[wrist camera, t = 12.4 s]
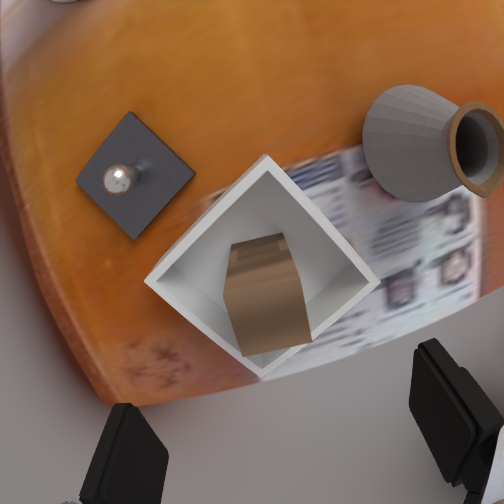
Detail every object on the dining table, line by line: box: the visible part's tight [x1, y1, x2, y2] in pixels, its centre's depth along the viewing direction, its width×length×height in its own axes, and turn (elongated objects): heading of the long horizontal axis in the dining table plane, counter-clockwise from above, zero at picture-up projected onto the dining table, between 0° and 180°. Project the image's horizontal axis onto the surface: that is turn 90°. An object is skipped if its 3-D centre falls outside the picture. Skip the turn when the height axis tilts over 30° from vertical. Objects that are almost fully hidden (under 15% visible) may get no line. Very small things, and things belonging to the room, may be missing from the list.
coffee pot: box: [362, 84, 504, 202], centre depth 21 cm, size 21×12×15 cm, turn 100°
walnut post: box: [223, 232, 312, 357], centre depth 26 cm, size 5×5×11 cm
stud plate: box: [75, 111, 196, 240], centre depth 27 cm, size 9×9×5 cm
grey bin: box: [144, 154, 381, 378], centre depth 29 cm, size 15×15×6 cm
